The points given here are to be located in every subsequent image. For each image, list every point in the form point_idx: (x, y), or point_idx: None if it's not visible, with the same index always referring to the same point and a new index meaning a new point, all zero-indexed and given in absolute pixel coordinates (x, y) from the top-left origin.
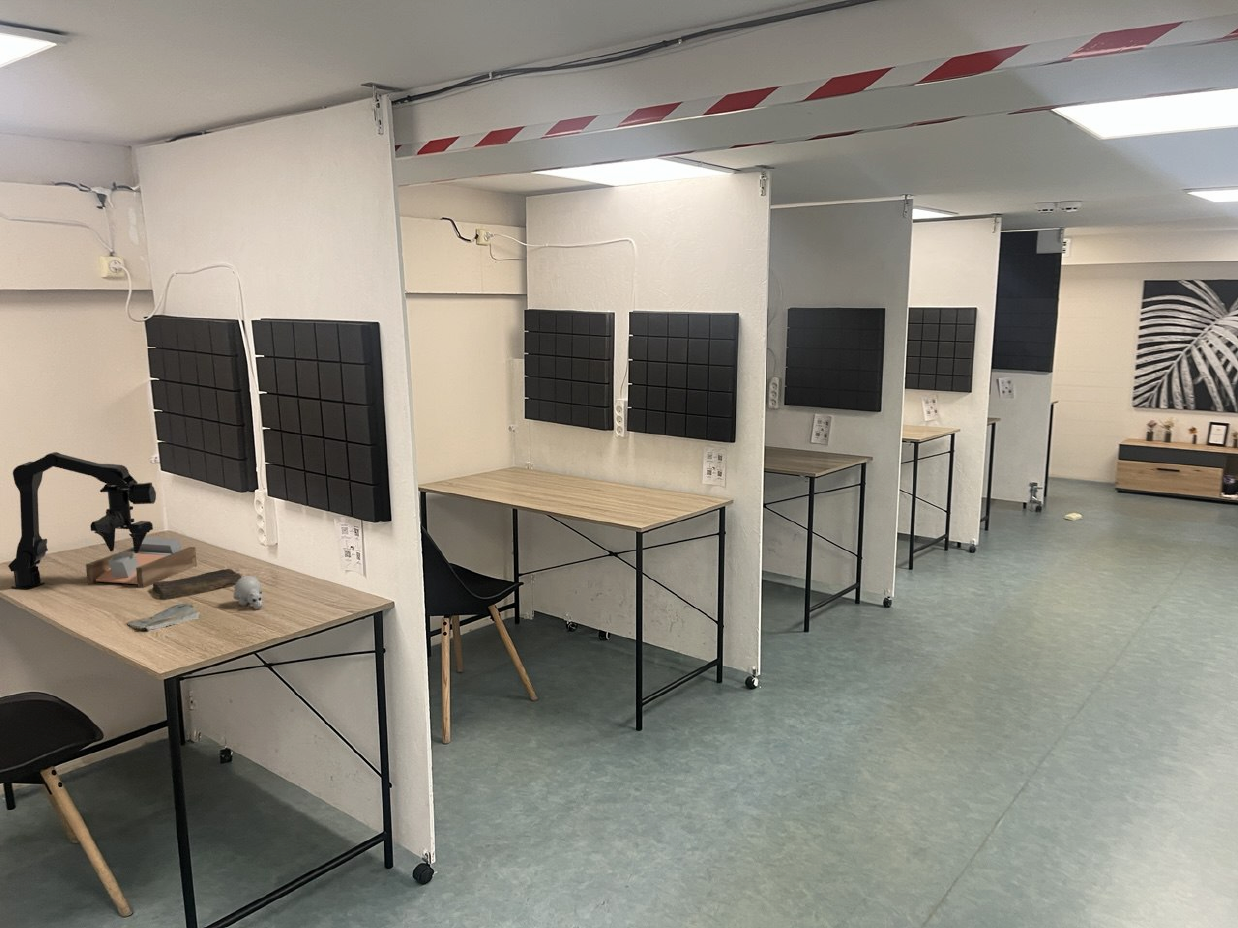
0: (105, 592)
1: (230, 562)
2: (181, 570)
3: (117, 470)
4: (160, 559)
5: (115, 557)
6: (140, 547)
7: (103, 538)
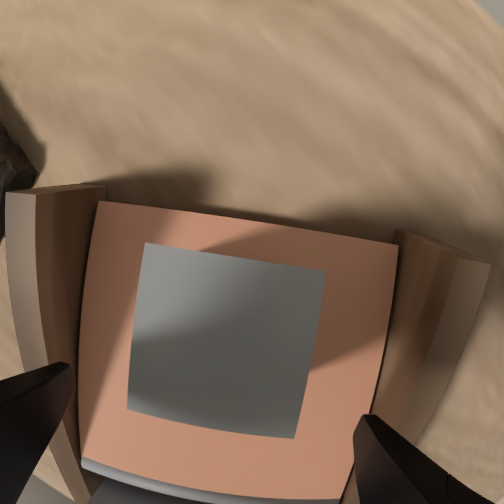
0: (229, 83)
1: (44, 461)
2: None
3: None
4: None
5: (279, 339)
6: None
7: (481, 499)
